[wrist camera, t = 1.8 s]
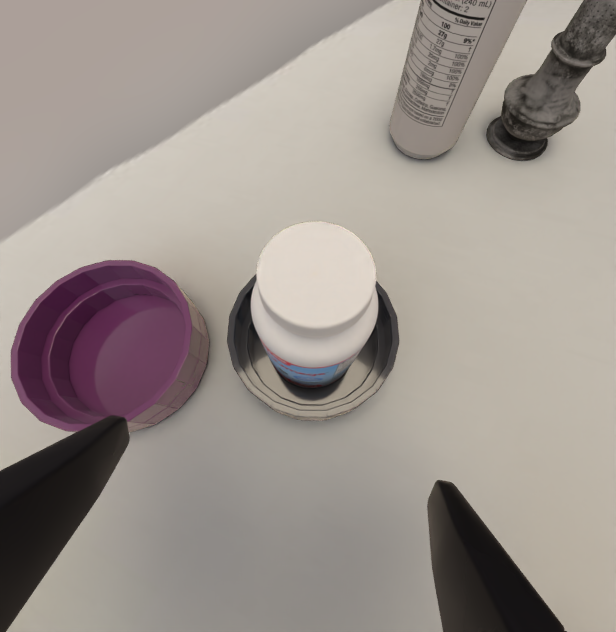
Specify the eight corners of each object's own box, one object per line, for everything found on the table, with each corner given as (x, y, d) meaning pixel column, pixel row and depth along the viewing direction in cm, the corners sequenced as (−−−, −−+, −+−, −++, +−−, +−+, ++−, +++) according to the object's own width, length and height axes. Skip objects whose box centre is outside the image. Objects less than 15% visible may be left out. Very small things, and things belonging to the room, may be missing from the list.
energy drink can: (468, 149, 30) (612, -113, 15) (410, 173, 29) (507, -81, 15) (429, 105, 31) (527, -166, 17) (374, 126, 31) (430, -139, 16)
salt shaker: (520, 174, 29) (657, 3, 17) (469, 132, 30) (565, -49, 19) (564, 142, 30) (719, -38, 19) (513, 104, 31) (627, -83, 20)
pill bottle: (250, 351, 23) (201, 280, 13) (306, 289, 25) (304, 179, 14) (319, 409, 22) (327, 383, 11) (373, 339, 23) (426, 259, 13)
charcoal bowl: (294, 453, 21) (291, 457, 17) (215, 330, 24) (196, 310, 20) (413, 362, 23) (434, 347, 19) (327, 259, 26) (330, 227, 22)
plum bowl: (96, 466, 21) (49, 473, 17) (37, 337, 24) (-14, 318, 20) (237, 371, 23) (223, 358, 19) (167, 262, 26) (143, 232, 22)
